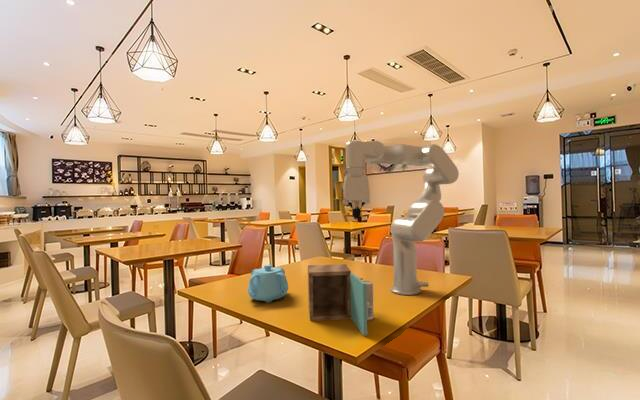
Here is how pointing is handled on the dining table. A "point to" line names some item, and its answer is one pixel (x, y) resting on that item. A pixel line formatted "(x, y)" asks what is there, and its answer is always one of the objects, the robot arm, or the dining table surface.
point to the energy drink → (369, 299)
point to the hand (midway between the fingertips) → (356, 218)
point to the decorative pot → (267, 284)
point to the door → (358, 303)
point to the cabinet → (329, 292)
